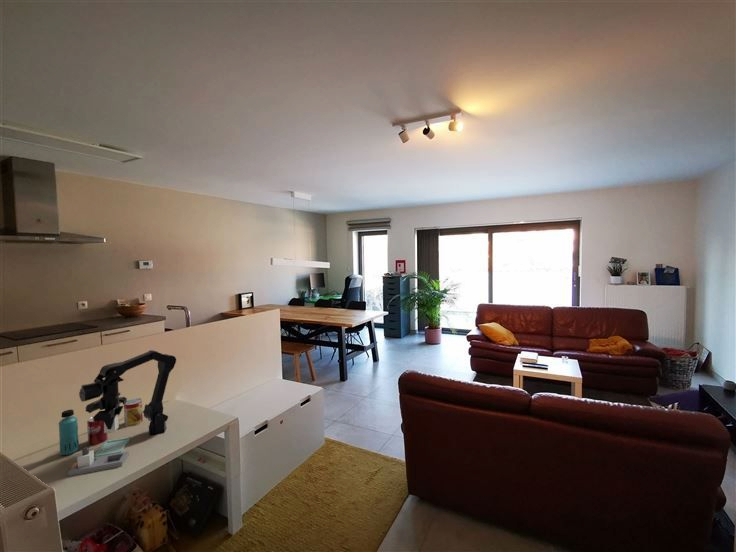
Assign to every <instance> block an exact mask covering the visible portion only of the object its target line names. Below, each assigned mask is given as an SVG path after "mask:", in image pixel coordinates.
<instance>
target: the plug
mask: <svg viewBox="0 0 736 552" xmlns="http://www.w3.org/2000/svg"><path fill="white" fill-rule="evenodd" d="M119 424H120V423H119V417H118V414H117V415H116V417H115V420H114V422H113V425H112V428H111V429H108V428H107V426H106V424H105V422H104V433H107V434H108V433H111V432H113V433H114V432H116V431H117V430H118V428H119V427H120V425H119Z"/></svg>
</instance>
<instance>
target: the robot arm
mask: <svg viewBox="0 0 736 552" xmlns="http://www.w3.org/2000/svg"><path fill="white" fill-rule="evenodd" d="M153 360H154V361H156V362H157V370H158V374H157V377H156V381H155V385H154V389H153V392H152V397H151V399H150V402H149V403H148V404H147V403H146V404H145V405H144V409H143V410H142V414H143V417H144V418H145V419H147V420H148V422H149V421H150V422H149V424H148V434H149V437H151V436H157V435H162V434H165V432H166V430H167V428H168V427H167V426H166V425H167V424H166V423H167V421H168V418H169V415H167V414H164V406H163V399H164V395H165V393H166V392H165V391H166V388H167V384H168V381H169V376H170V373H171V371H172V370H174V368H175V365H176V364H177V358H176V356H175V355H170V354H167V353H164V354H163V353H160V352H159V351H157V350H154V349H153V350H152V349H150V350H148V351H147V352H144V353H142V354H139V355H137V356H134V357H131V358H128V359H127V360H124V361H120V362H114V363H113V362H112V363H110V364H105V365H103V366H102V367H101V368H100V370H99V373H98V374H97V376H96V377H95V378H94V380H93V382H90V383H88V384H86V383H85V384H82V385H81V388H80V390H79V392H78V395H79V396H78V397H79V399H80V401H81V402H87V401H90V400H94V399H96V398H99V399H98V400H96V401H93V402H90V403H88V404H87V405H86V407H85V411H84V412H87V413H89V414H92V413H93V412H94V411H97V410H99V411H98V412H97V413H96V414H95V415H94V416H92V417H93V421H94V422H95V421H102V420H103V421H104V422H105V424H106V426H107V428H108V429H111V428H112V425H113V422H114V420H115V417H116V415H117V414H118V418H119V417H120V415H121V412H122V411H123V409H124V404H126V402H127V401H128V398H127V397H125V396H121V392H120V391H119V383H121V382H124V380H125V379H124V378H122V377H121V376H122V375H124V374H125V373H126V372H128V371H129V370H131V369H134V368H136V367H138V366H141V365H143V364H146V363H149V362H150V361H153ZM121 404H122V405H121Z"/></svg>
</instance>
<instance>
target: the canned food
mask: <svg viewBox="0 0 736 552" xmlns="http://www.w3.org/2000/svg"><path fill="white" fill-rule="evenodd" d="M123 406H124V407H123V413H124V415H123V417H124V418H123V420H124V426H125V427H128V428H129V427H135V426H137V425H140V424H141V423H142V422H143V419H144V418H143V417H144V416H143V400H142V398H139V397H137V398H132V399H127V402H126V404H123Z"/></svg>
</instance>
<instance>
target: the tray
mask: <svg viewBox="0 0 736 552" xmlns="http://www.w3.org/2000/svg"><path fill="white" fill-rule="evenodd" d="M131 439H132V438H131V436H128V437H127V436H126V437H122V438H115V439H110V440H106V441H105V442H103V443H102V445H101V447H99V449H98V450H97V451H96V453H94V457H99V456H104V455H110V454H116V453H121V452H124V451H123V450H124V449H125V448H126V446H127V445H128V443H129V441H130V440H131Z"/></svg>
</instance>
